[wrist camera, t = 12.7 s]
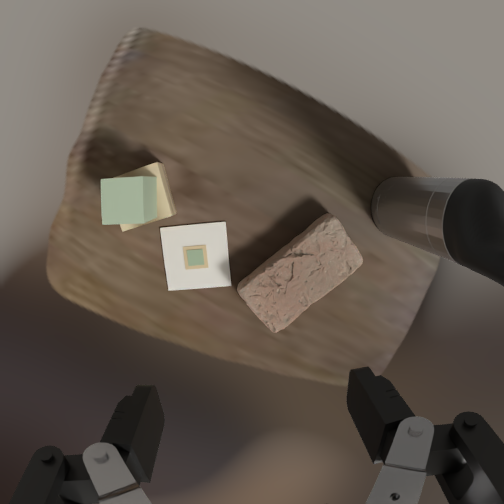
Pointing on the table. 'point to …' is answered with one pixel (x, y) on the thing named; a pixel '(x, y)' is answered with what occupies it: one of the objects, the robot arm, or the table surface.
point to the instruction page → (196, 256)
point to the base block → (163, 192)
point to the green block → (128, 200)
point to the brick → (300, 273)
